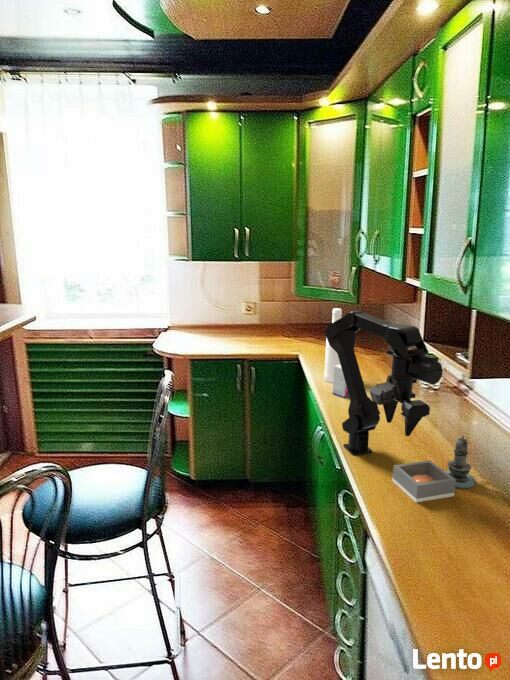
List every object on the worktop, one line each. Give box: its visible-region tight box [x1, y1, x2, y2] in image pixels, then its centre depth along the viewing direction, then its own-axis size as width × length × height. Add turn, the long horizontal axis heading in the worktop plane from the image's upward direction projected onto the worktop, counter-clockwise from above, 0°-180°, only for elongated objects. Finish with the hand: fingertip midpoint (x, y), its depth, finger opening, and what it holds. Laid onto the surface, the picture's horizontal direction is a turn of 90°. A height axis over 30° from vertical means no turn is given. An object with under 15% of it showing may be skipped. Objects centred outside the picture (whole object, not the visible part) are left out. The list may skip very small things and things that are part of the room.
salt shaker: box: [447, 435, 472, 483], centre depth 141 cm, size 6×6×12 cm
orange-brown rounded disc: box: [412, 475, 434, 483], centre depth 138 cm, size 6×6×1 cm
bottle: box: [323, 307, 343, 384], centre depth 220 cm, size 8×8×30 cm
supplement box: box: [331, 364, 349, 399], centre depth 205 cm, size 6×6×12 cm
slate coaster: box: [444, 469, 476, 490], centre depth 142 cm, size 8×8×1 cm
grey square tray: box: [391, 459, 456, 503], centre depth 138 cm, size 11×11×4 cm
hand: (398, 428), depth 145 cm, fingers open, 9 cm apart
